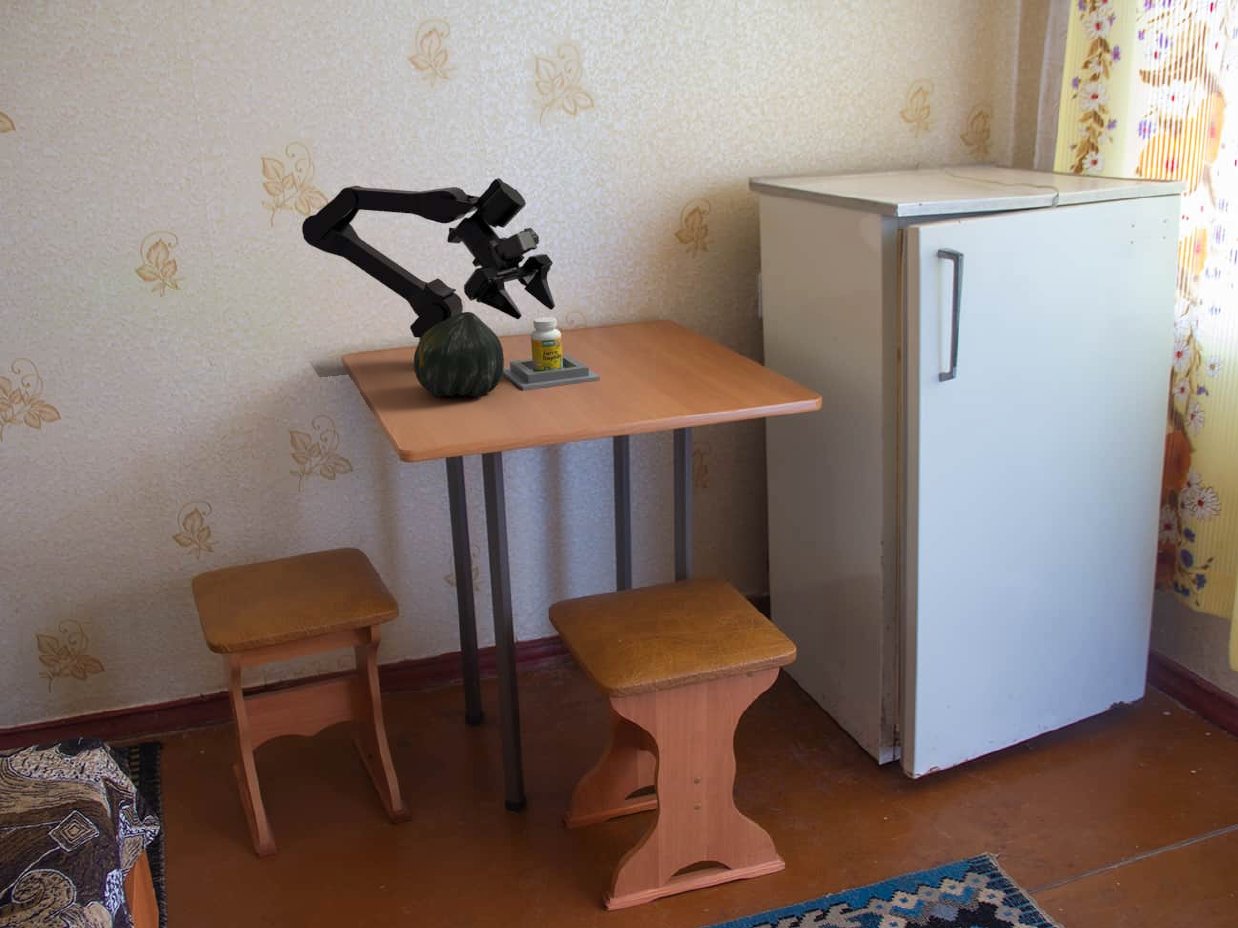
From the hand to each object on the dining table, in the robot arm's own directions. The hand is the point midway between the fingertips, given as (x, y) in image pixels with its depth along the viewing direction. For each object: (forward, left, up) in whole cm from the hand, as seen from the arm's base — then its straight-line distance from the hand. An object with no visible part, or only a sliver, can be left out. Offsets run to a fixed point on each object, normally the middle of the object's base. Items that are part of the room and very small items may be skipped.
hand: (536, 312), depth 204 cm
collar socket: (+2, +1, -11) cm, 11 cm away
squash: (+5, -16, -11) cm, 20 cm away
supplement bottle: (+1, +1, -11) cm, 11 cm away
